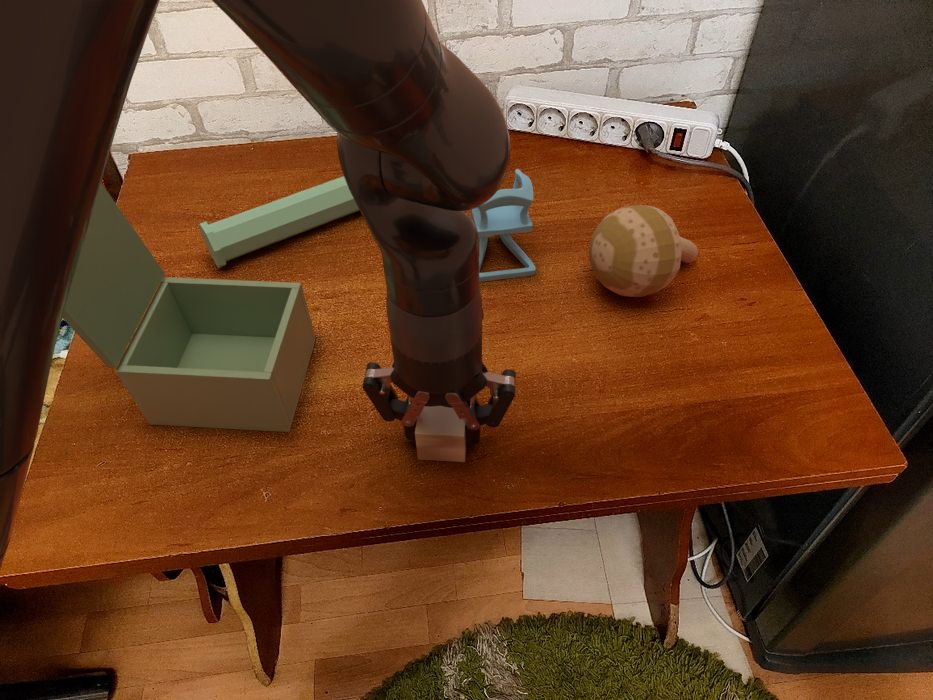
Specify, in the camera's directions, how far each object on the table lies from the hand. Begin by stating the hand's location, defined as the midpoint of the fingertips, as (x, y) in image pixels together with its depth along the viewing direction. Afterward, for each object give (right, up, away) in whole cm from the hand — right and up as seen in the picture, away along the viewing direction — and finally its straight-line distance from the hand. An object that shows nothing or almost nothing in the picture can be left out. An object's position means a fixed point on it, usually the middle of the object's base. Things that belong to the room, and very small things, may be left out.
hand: (443, 439), depth 68 cm
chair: (+6, +20, +18) cm, 28 cm away
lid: (-31, +17, -7) cm, 36 cm away
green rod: (-19, +25, +22) cm, 38 cm away
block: (0, 0, 0) cm, 0 cm away
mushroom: (+24, +17, +15) cm, 33 cm away
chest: (-22, +6, +6) cm, 24 cm away
